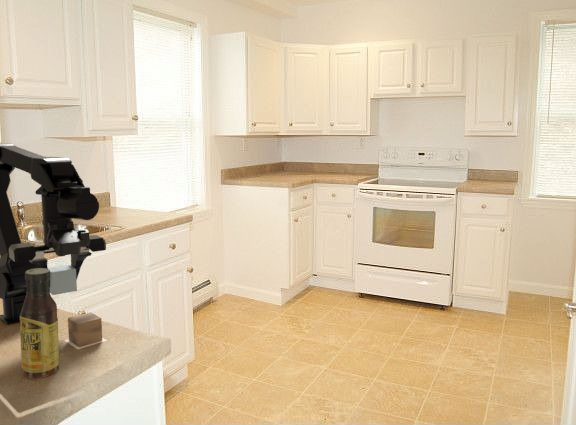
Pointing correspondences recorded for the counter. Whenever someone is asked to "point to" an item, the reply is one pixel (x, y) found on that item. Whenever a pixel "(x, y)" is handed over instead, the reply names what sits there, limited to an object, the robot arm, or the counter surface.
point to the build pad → (83, 346)
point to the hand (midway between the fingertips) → (61, 285)
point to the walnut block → (85, 329)
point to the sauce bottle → (39, 327)
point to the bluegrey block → (62, 279)
